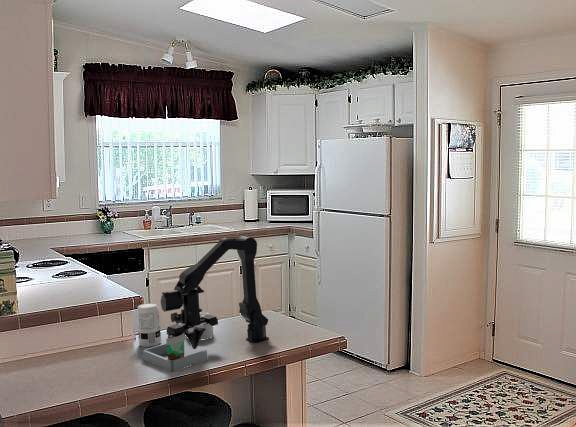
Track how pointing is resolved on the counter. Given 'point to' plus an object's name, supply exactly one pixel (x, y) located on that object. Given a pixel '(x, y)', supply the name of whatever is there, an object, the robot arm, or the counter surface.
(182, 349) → the food container
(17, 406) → the counter surface
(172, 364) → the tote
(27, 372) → the counter surface
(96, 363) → the counter surface
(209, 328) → the lumpy-topped squat cylinder
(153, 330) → the supplement can
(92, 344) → the counter surface
